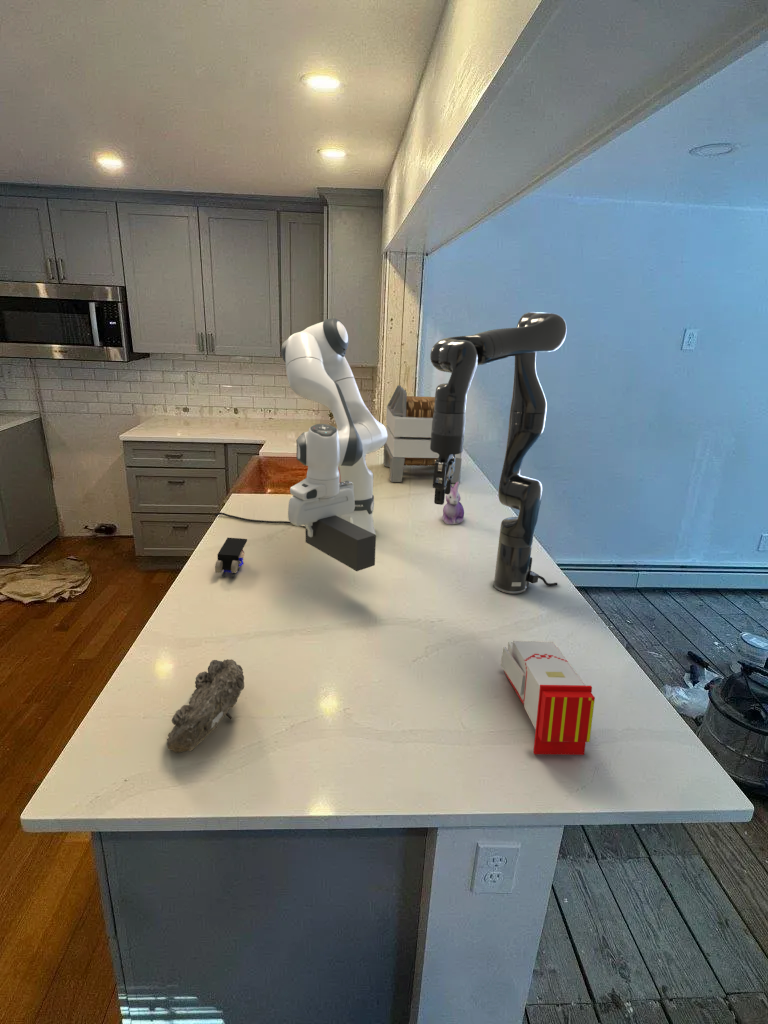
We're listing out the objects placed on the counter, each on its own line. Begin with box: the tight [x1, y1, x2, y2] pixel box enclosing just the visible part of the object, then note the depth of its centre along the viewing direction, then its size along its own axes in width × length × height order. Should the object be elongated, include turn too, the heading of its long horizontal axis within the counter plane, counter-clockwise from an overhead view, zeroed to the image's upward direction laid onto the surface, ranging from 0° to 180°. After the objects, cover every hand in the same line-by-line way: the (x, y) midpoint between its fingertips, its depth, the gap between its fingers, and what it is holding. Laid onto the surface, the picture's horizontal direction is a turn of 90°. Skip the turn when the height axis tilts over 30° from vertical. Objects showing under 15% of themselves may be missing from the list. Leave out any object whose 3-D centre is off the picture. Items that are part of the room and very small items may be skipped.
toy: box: [500, 640, 596, 756], centre depth 114 cm, size 12×13×30 cm
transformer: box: [383, 384, 463, 484], centre depth 268 cm, size 34×33×41 cm
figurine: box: [441, 482, 465, 525], centre depth 212 cm, size 9×10×15 cm
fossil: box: [166, 658, 245, 754], centre depth 106 cm, size 22×10×15 cm
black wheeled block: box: [214, 537, 248, 578], centre depth 166 cm, size 7×8×15 cm
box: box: [305, 515, 377, 572], centre depth 152 cm, size 23×6×9 cm, turn 42°
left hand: (322, 533), depth 157 cm, fingers closed on box, 6 cm apart
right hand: (442, 498), depth 134 cm, fingers open, 8 cm apart
